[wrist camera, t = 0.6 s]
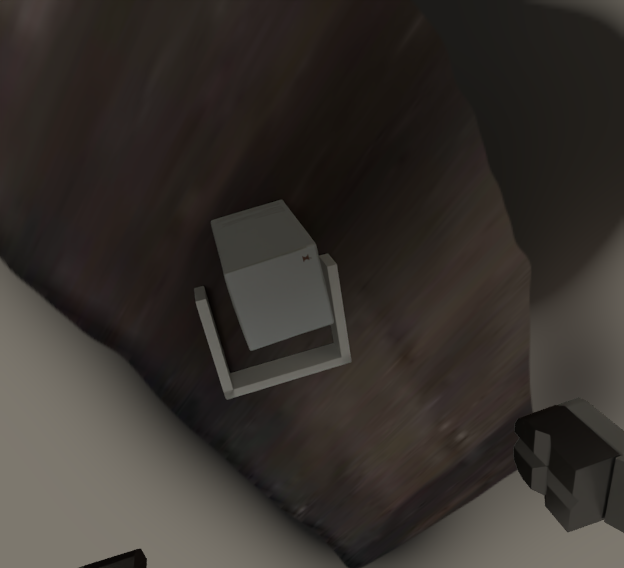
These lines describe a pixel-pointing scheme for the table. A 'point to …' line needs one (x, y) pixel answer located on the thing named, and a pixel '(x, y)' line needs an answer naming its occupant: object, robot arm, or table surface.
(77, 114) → the table surface
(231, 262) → the supplement box
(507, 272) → the table surface
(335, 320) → the bay
